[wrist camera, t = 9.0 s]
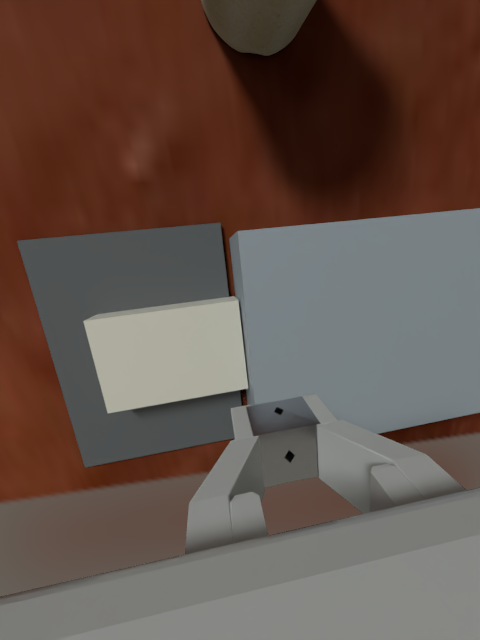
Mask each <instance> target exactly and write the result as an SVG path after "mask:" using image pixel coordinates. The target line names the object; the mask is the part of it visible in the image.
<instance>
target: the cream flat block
mask: <svg viewBox="0 0 480 640" xmlns="http://www.w3.org/2000/svg"><path fill="white" fill-rule="evenodd" d="M83 322H84V326H85V330H86V334H87V337H88V341H89V345H90V349H91V352H92V356H93V360H94V364H95V367H96V371H97V375H98V379H99V382H100V386H101V390H102V394H103V397H104V401H105V405H106V409H107V413H113V412H119V411H125V410H130V409H136V408H142V407H147V406H153V405H158V404H164V403H170V402H175V401H181V400H186V399H192V398H198V397H203V396H209V395H214V394H220V393H226V392H231V391H237V390H242V389H248V381H247V372H246V363H245V355H244V346H243V337H242V328H241V319H240V311H239V302H238V299H237V298H236V297H234V296H232V297H224V298H217V299H209V300H202V301H194V302H186V303H179V304H171V305H164V306H156V307H149V308H141V309H133V310H126V311H118V312H111V313H103V314H97V315H95V316H93V317H91V318H89V319H86V320H84V321H83Z"/></svg>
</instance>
